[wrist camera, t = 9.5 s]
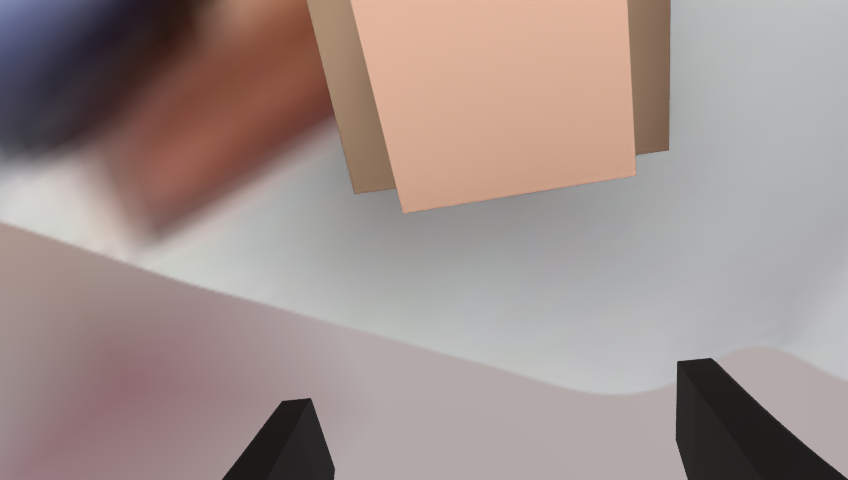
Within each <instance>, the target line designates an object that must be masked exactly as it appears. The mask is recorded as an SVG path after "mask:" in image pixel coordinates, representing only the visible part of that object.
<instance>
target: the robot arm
mask: <svg viewBox="0 0 848 480" xmlns="http://www.w3.org/2000/svg"><path fill="white" fill-rule="evenodd" d="M676 406H677V408H676V442H677V445H678V448H679V452H680V455H681V458H682V462H683V465H684V468H685V472H686V475H687V478H688V480H848V479H847V478H846V477H844V476H843V475H842V474H841V473H840V472H838V471H837V470H836V469H834V468H833V467H832V466H830V465H829V464H828V463H827V462H826V461H824V460H823V459H822V458H821V457H819V456H818V455H817V454H816V453H815V452H813V451H812V450H811V449H810V448H808V447H807V446H806V445H805V444H804V443H803V442H802V441H800V440H799V439H798V438H797V437H796V436H795V435H793V434H792V433H791V432H790V431H789V430H788V429H787V428H785V427H784V426H783V425H782V424H781V423H780V422H779V421H777V420H776V419H775V418H774V417H773V416H772V415H771V414H770V413H769V412H768V411H766V410H765V409H764V408H763V407H762V406H761V405H760V404H759V403H758V402H757V401H756V400H755V399H754V398H753V397H751V396H750V395H749V394H748V393H747V392H746V391H745V390H744V389H743V388H742V387H741V386H740V385H739V384H738V383H737V382H736V381H735V380H734V379H733V378H732V377H731V376H730V375H729V374H728V373H727V372H725V370H723V368H722V367H721V366H720V365H719V364H718V363H717V362H715V361H714V360H713V359H712V358H706V359H696V360H686V361H677V405H676ZM334 473H335V468H334V465H333V462H332V459H331V456H330V453H329V450H328V447H327V444H326V441H325V438H324V435H323V432H322V429H321V426H320V423H319V420H318V417H317V415H316V412H315V409H314V406H313V403H312V400H311V398H308V399H298V400H288V401H282V402H281V403H280V405H279V406H278V407H277V409H276V410H275V411H274V412H273V414H272V415H271V416H270V418H269V419H268V420H267V422H266V423H265V424H264V426H263V427H262V428H261V429H260V431H259V432H258V433H257V435H256V436H255V438H254V439H253V440H252V441H251V443H250V444H249V446H248V447H247V448H246V449H245V451H244V452H243V453H242V455H241V456H240V457H239V459H238V460H237V461H236V462H235V464H234V465H233V466H232V468H231V469H230V470H229V471H228V472H227V474H226V475H225V476H224V478H223V479H222V480H334Z"/></svg>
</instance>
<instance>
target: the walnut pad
mask: <svg viewBox="0 0 848 480" xmlns="http://www.w3.org/2000/svg"><path fill="white" fill-rule="evenodd" d="M307 3H308V8H309V12H310V16H311V20H312V24H313V28H314V32H315V36H316V40H317V44H318V48H319V52H320V56H321V60H322V64H323V68H324V72H325V76H326V81H327V85H328V89H329V93H330V97H331V101H332V105H333V109H334V113H335V117H336V121H337V125H338V129H339V133H340V137H341V141H342V145H343V149H344V154H345V158H346V162H347V166H348V170H349V174H350V178H351V182H352V186H353V190H354V194H359V193H366V192H373V191H380V190H388V189H395V188H397V187H396V183H395V179H394V175H393V171H392V167H391V163H390V159H389V155H388V151H387V146H386V142H385V138H384V134H383V130H382V126H381V122H380V118H379V114H378V110H377V106H376V102H375V98H374V94H373V90H372V86H371V82H370V77H369V73H368V69H367V65H366V61H365V57H364V53H363V49H362V45H361V41H360V37H359V33H358V29H357V25H356V21H355V17H354V13H353V8H352V4H351V0H307ZM627 6H628V26H629V45H630V64H631V83H632V103H633V122H634V141H635V155H639V154H646V153H653V152H660V151H667V150H669V99H670V0H627Z"/></svg>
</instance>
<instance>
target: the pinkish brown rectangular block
mask: <svg viewBox="0 0 848 480" xmlns="http://www.w3.org/2000/svg"><path fill="white" fill-rule="evenodd" d="M351 4H352V8H353V13H354V17H355V21H356V25H357V29H358V33H359V37H360V41H361V45H362V49H363V53H364V57H365V61H366V65H367V69H368V73H369V77H370V82H371V86H372V90H373V94H374V98H375V102H376V106H377V110H378V114H379V118H380V122H381V126H382V130H383V134H384V138H385V142H386V146H387V151H388V155H389V159H390V163H391V167H392V171H393V175H394V179H395V183H396V187H397V191H398V195H399V199H400V203H401V207H402V211H403V213H409V212H416V211H422V210H428V209H434V208H440V207H446V206H452V205H458V204H464V203H470V202H477V201H483V200H489V199H495V198H501V197H507V196H513V195H519V194H525V193H532V192H538V191H544V190H550V189H556V188H562V187H568V186H574V185H580V184H587V183H593V182H599V181H605V180H611V179H617V178H623V177H629V176H635V175H636V160H635V141H634V122H633V103H632V83H631V64H630V45H629V26H628V6H627V0H351Z"/></svg>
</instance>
